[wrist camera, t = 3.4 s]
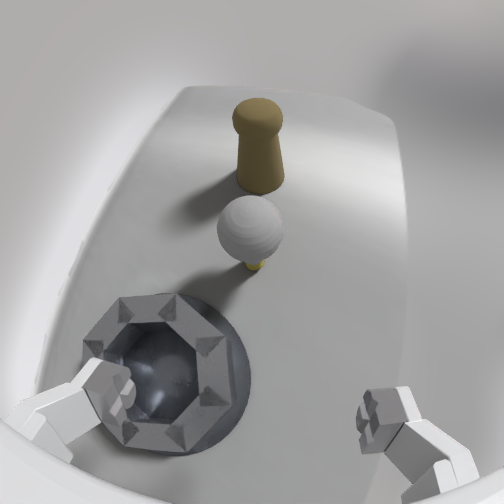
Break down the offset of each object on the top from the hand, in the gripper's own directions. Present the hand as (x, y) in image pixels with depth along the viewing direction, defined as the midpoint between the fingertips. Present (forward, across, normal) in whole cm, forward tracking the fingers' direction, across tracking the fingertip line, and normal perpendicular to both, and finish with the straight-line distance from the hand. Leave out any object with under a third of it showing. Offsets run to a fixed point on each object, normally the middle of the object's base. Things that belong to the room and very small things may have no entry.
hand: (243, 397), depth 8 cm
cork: (+30, +2, -4) cm, 31 cm away
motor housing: (+12, +9, +13) cm, 20 cm away
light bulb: (+22, +2, +4) cm, 22 cm away
